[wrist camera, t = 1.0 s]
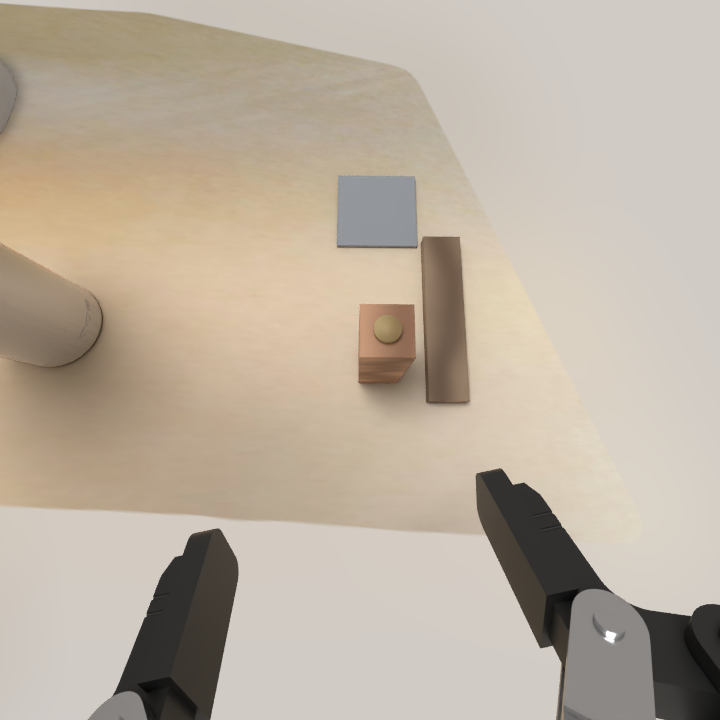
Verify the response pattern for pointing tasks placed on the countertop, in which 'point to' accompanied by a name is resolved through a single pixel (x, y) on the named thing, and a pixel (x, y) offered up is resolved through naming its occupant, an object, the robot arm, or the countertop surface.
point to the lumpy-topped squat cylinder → (6, 95)
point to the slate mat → (376, 212)
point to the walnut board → (444, 321)
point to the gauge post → (385, 342)
